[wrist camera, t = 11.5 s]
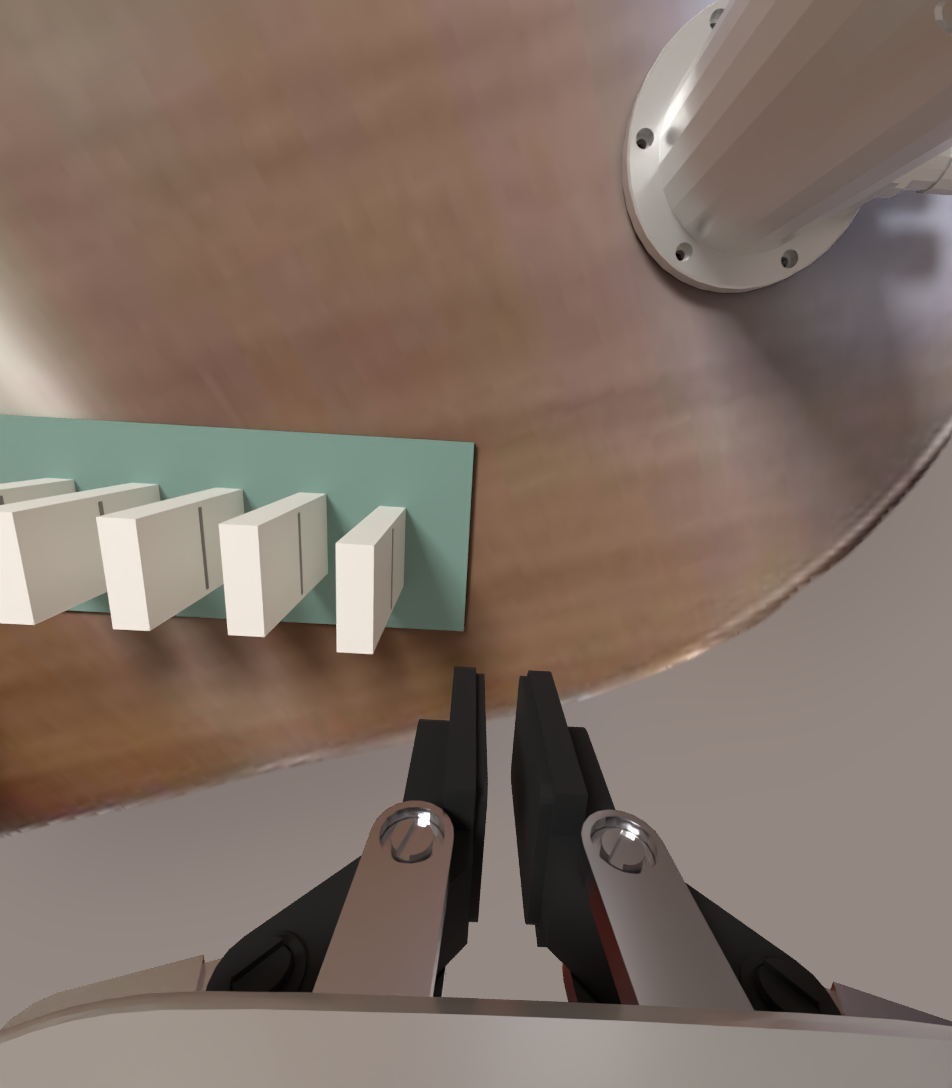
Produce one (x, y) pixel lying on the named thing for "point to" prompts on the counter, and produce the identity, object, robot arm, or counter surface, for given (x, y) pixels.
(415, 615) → the runner mat
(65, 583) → the domino
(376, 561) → the domino
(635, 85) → the counter surface
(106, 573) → the domino
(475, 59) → the counter surface
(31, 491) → the domino
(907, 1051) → the robot arm
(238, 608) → the domino
